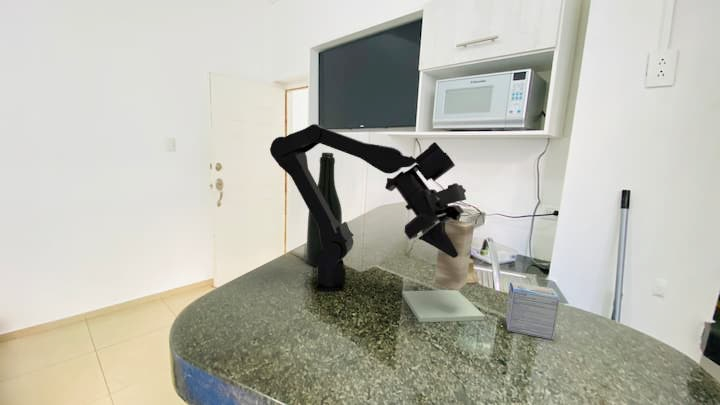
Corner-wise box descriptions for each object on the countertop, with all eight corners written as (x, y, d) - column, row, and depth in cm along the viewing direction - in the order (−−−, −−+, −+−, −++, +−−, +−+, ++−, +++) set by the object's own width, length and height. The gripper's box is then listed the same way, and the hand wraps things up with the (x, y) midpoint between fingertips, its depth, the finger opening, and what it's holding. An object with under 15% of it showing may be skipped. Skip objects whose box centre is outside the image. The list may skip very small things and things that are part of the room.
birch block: (434, 282, 62) (441, 222, 60) (444, 276, 66) (450, 219, 64) (458, 290, 59) (465, 226, 57) (466, 283, 63) (474, 223, 61)
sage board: (419, 322, 59) (419, 317, 59) (402, 295, 71) (402, 291, 71) (484, 320, 61) (484, 315, 61) (456, 294, 73) (457, 290, 73)
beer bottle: (340, 256, 96) (345, 153, 91) (340, 268, 86) (346, 153, 81) (308, 255, 95) (311, 151, 91) (304, 267, 85) (307, 151, 80)
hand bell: (443, 272, 87) (448, 219, 85) (468, 272, 89) (474, 219, 87) (457, 284, 79) (463, 226, 77) (485, 283, 81) (492, 226, 79)
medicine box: (547, 329, 59) (554, 288, 58) (554, 341, 55) (561, 297, 54) (504, 320, 62) (509, 280, 61) (507, 331, 58) (513, 289, 57)
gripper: (424, 170, 54) (479, 241, 49) (459, 170, 69) (504, 225, 64) (384, 206, 60) (430, 273, 55) (424, 199, 75) (464, 251, 70)
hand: (460, 253), depth 61 cm, fingers closed on birch block, 5 cm apart
